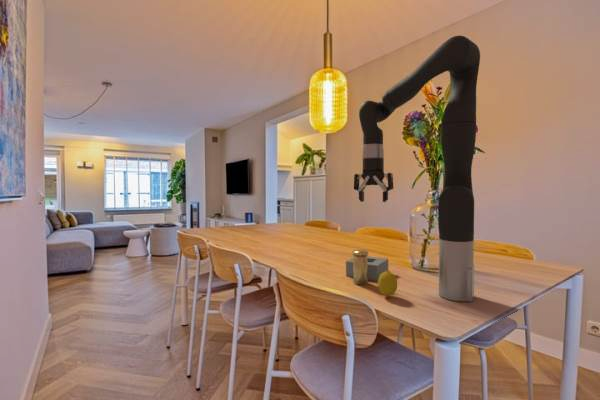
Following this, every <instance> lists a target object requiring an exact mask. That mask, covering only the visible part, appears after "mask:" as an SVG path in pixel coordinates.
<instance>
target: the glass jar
mask: <svg viewBox="0 0 600 400" xmlns="http://www.w3.org/2000/svg"><path fill="white" fill-rule="evenodd" d="M351 254H352V258H353V277H352V278H353V279H352V282H353V285H355V286H367V285H368V284H369V283H368V261H367V256H369V251H368V250H365V249H354V250H352V253H351Z"/></svg>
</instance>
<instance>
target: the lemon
mask: <svg viewBox="0 0 600 400" xmlns="http://www.w3.org/2000/svg"><path fill="white" fill-rule="evenodd" d="M377 285H378V289H379V292H380V293H382V294H383V295H385V296H386V297H387V298H389V297H391V296H392V295H394V294H395V293H396V291H397V289H398V280H397V277H396V275H395V274H394V273H393V272H390V271H389V270H388V271H386V272H383V273H382V274H381V275H380V277H379V280H378V281H377Z"/></svg>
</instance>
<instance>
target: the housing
mask: <svg viewBox="0 0 600 400" xmlns="http://www.w3.org/2000/svg"><path fill="white" fill-rule="evenodd" d="M367 261H368V280H369V281H374V282H378V280H379V277H380V275H381V274H382V273H383V272H386V271H389V258H386V257H378V256H369V255H367ZM345 276H346V277H348V278H353V257H352V258H350V259H348V260H346V261H345Z"/></svg>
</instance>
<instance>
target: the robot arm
mask: <svg viewBox="0 0 600 400" xmlns="http://www.w3.org/2000/svg"><path fill="white" fill-rule="evenodd" d="M480 62H481V51H480V48H479V47H478V45H477V44H476V43H475V42H474V41H472V40H471V39H469V38H468V37H465V36H464V35H455V36H452V37H450V38H448V39H447V40H446V41H445V42H443V43H442V44H441V45H439V46H438V47H437V49H436V50H434V51H433V52H432V53H431V54H430V55H429V56H428V57H427V58H426V59H425V60H424V61H422V63H420V64H419V65H418V66H417V67H416V68H415V69H414V70H412V72H411V73H409V74H408V75H407V76H406V77H404V78H403V79H401V80H400V81H398V82H397V83H396V84H394V85H393V86H391V87H390V88H389V89H387V90H386V91H384V92H383V94H382V96H381V101H379V102H376V101H373V100H366V101H364V102H363V103H362V104H361V105H360V107H359V111H358V112H359V113H358V115H359V116H358V117H359V123H360V127H361V131H362V134H363V136H362V137H363V139H362V140H363V141H362V142H363V145H362V146H363V147H362V155H361V156H362V173H355V174H354V177H353V190H355V191H358V200H359V201H360V202H362V203H363V202H365V191H364V190H365V189H366V188H367V187H368V186H379V187H380V189H382V203H387V201H388V200H389V191H392V190H394V174H393V173H392V172H387V173H385V171H384V170H385V167H384V166H385V165H384V164H385V161H384V160H385V159H384V156H385V155H384V154H385V152H384V133H383V129H381V128H380V127H379V126H378V124H379V123H381V122H383V121H385V120H386V119H388V118H389V117H390V116H392V114H393V113H394V112H395V111H396V110H397V109H398V108H400V107H402V106H403V105H405V104H406V103H408V102H410V101H411V100H413V98H415V97H416V96H417V95H418V94H419V93H420V91H421V90H423V87H424V86H426V84H427V83H429V82H430V81H431V80H433V79H434V78H436V77H438V76H440V75H442V74H444V73H445V72H449V78H450V79H449V80H450V81H449V82H450V83H449V84H450V86H449V87H450V90H449V91H450V92H449V96H448V100H447V103H446V105H445V109H444V111H443V114H442V116H441V121H440V122H441V123H440V125H441V127H440V131H441V132H440V139H441V140H440V142H441V143H440V144H441V152H442V160H443V166H444V168H443V169H444V176H443V177H444V178H443V185H442V191H441V193H440V194H439V196H438V201H437V202H438V204H437V215H438V216H437V218H438V221H437V223H438V224H437V225H438V226H437V228H438V295H439V296H440V297H441V298H443V299H445V300H449V301H455V302H470V303H472V302H473V300H474V297H475V265H474V258H475V257H474V250H475V249H474V246H475V243H474V242H475V237H474V236H475V197H474V191H473V181H472V167H473V166H472V165H473V161H474V154H475V148H476V138H477V85H478V84H477V83H478V75H479V69H480ZM361 179H362V180H363V181H362V182H361V184H360V180H361ZM384 179H386V180H387V185H386V183H385V182H384V181H383V180H384Z"/></svg>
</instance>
